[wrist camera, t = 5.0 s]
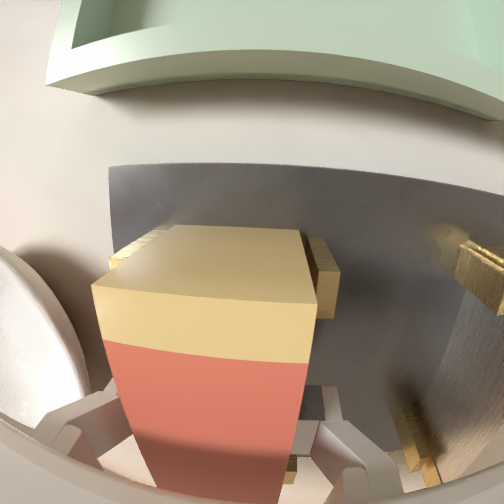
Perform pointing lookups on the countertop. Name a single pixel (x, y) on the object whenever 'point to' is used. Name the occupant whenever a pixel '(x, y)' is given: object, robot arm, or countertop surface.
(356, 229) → the fuse holder
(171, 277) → the fuse
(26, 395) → the spoon rest
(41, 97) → the countertop surface
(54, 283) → the countertop surface
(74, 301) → the countertop surface
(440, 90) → the tray
